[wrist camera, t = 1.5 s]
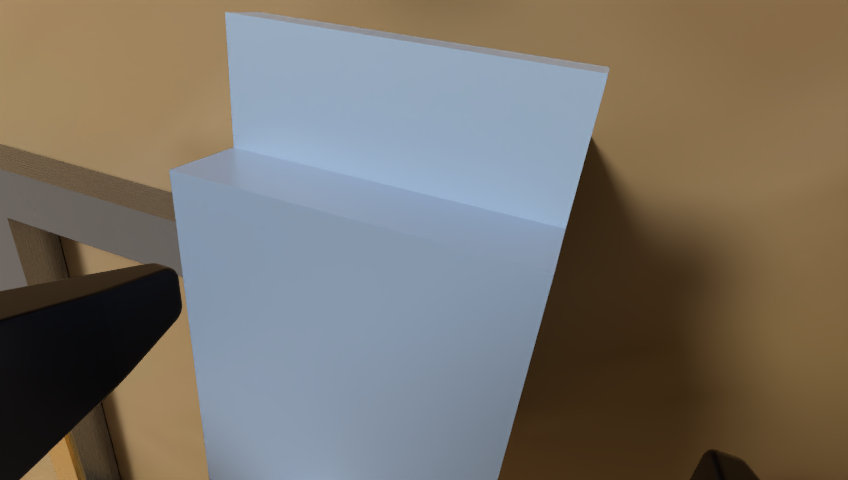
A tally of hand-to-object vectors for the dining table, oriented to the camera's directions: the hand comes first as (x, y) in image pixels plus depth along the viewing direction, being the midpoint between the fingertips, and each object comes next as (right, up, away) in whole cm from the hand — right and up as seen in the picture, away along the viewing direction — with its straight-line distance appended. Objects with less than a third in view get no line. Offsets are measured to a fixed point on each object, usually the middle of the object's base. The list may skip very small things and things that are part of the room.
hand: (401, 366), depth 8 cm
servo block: (+1, +1, +3) cm, 3 cm away
